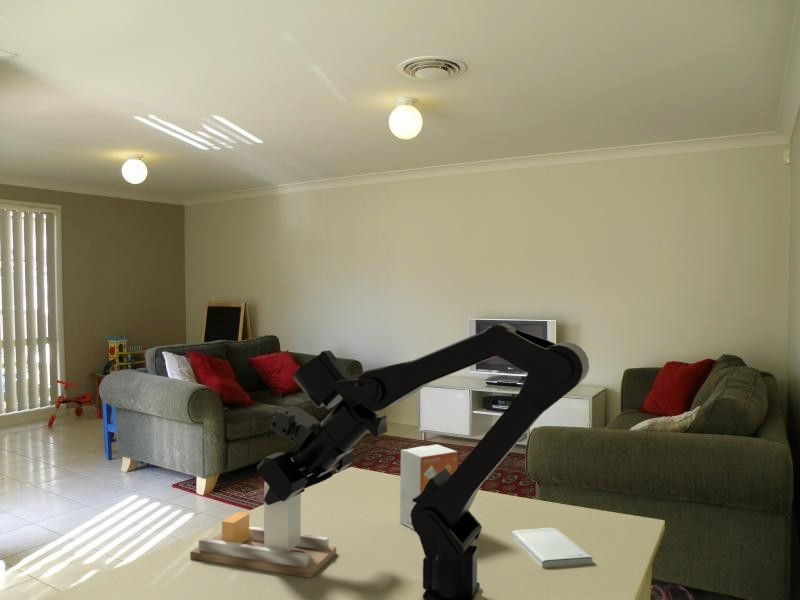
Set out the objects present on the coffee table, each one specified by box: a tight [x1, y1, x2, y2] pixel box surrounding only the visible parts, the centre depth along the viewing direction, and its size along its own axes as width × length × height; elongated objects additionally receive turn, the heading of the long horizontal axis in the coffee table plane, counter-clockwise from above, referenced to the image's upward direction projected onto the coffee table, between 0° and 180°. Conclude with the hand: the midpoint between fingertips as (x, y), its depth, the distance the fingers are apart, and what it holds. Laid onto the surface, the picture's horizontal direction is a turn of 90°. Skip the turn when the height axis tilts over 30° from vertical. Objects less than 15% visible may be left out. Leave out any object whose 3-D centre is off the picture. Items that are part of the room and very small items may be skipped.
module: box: [263, 481, 302, 551], centre depth 95 cm, size 4×4×10 cm
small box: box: [399, 443, 458, 531], centre depth 110 cm, size 8×6×13 cm
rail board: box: [189, 525, 337, 579], centre depth 96 cm, size 20×9×3 cm, turn 72°
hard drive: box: [510, 527, 594, 569], centre depth 100 cm, size 2×8×12 cm
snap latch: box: [221, 511, 250, 544], centre depth 98 cm, size 2×4×4 cm, turn 162°
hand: (275, 497), depth 96 cm, fingers closed on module, 4 cm apart
